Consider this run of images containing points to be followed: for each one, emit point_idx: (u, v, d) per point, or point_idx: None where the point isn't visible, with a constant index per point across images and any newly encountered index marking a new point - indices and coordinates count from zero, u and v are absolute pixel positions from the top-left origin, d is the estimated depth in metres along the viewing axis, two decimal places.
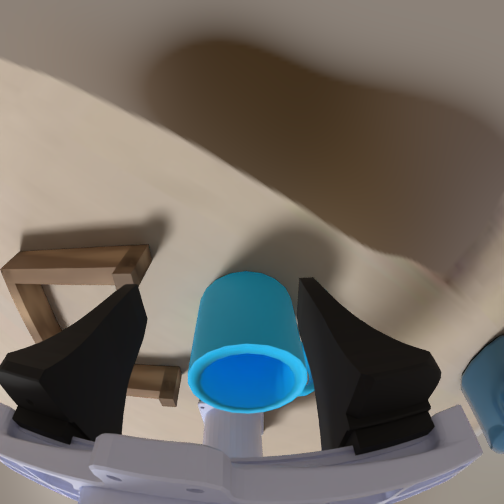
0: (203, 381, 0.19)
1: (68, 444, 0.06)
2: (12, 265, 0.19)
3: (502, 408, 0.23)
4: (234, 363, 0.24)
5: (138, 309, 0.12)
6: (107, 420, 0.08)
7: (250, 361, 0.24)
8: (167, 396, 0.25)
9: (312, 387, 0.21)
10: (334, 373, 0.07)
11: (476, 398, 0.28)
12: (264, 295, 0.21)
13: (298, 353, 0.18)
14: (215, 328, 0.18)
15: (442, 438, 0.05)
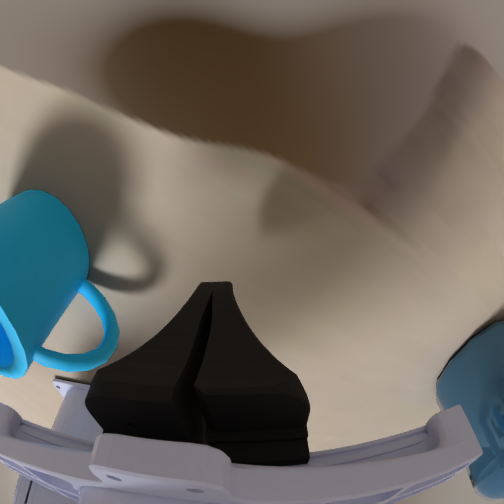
0: None
1: None
2: None
3: (495, 437, 0.13)
4: None
5: None
6: (205, 430, 0.08)
7: None
8: None
9: (72, 359, 0.12)
10: None
11: None
12: (13, 207, 0.11)
13: None
14: None
15: (442, 438, 0.05)
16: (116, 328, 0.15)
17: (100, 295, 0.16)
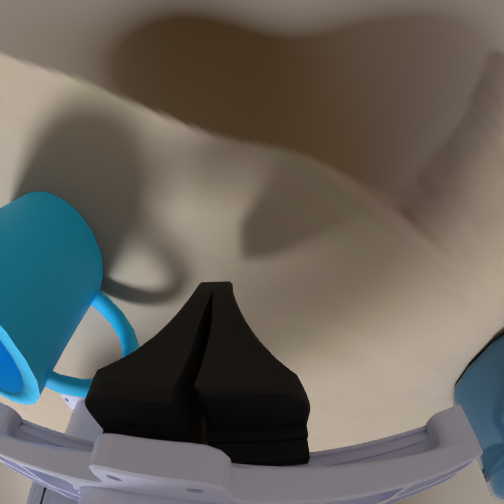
0: None
1: None
2: None
3: None
4: None
5: None
6: (205, 430, 0.08)
7: None
8: None
9: None
10: None
11: (475, 423, 0.17)
12: (16, 212, 0.10)
13: None
14: None
15: (442, 438, 0.05)
16: (137, 346, 0.14)
17: (116, 309, 0.15)
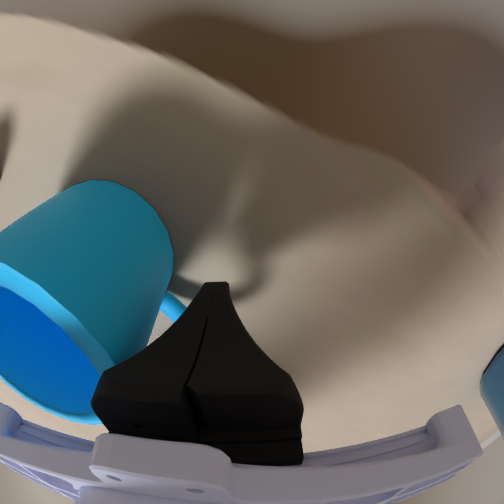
0: None
1: None
2: None
3: None
4: None
5: None
6: None
7: None
8: None
9: None
10: None
11: None
12: (85, 202, 0.10)
13: (81, 302, 0.07)
14: None
15: (442, 438, 0.05)
16: None
17: None
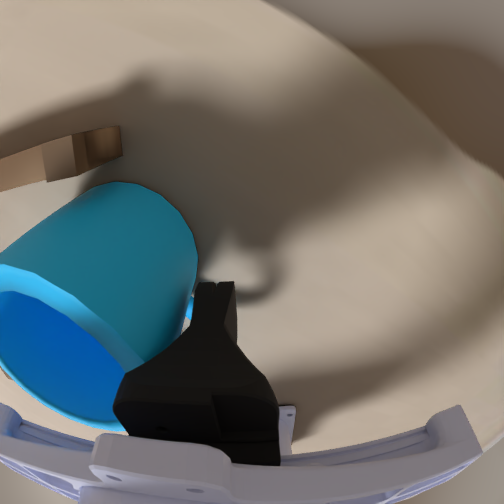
0: (11, 350, 0.08)
1: None
2: None
3: None
4: (97, 340, 0.13)
5: (235, 308, 0.12)
6: None
7: None
8: None
9: None
10: None
11: None
12: (112, 205, 0.10)
13: (118, 313, 0.07)
14: None
15: (442, 438, 0.05)
16: None
17: None
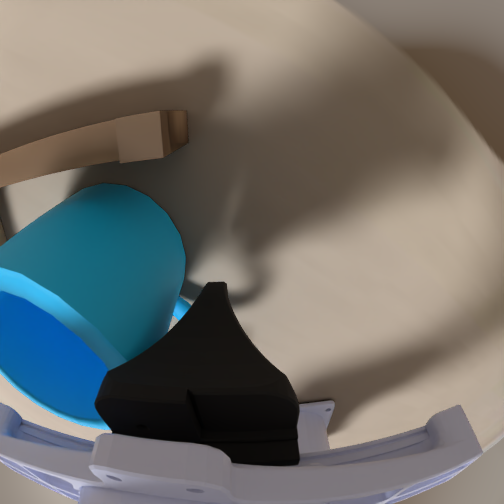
0: (3, 349, 0.08)
1: None
2: None
3: None
4: None
5: None
6: None
7: None
8: None
9: None
10: None
11: None
12: (99, 207, 0.10)
13: (102, 312, 0.07)
14: None
15: (442, 438, 0.05)
16: None
17: None
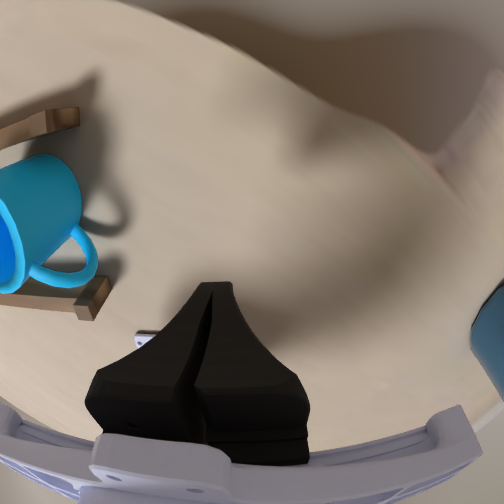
0: None
1: None
2: None
3: None
4: None
5: None
6: (205, 430, 0.08)
7: None
8: (82, 303, 0.20)
9: (59, 274, 0.16)
10: None
11: (492, 354, 0.23)
12: (29, 163, 0.15)
13: (10, 200, 0.12)
14: None
15: (442, 438, 0.05)
16: (96, 260, 0.19)
17: (87, 236, 0.20)
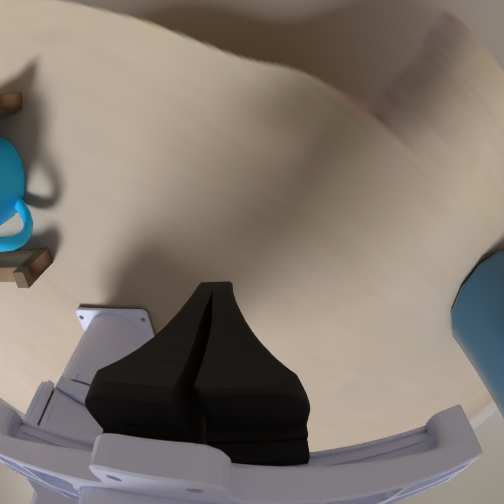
0: None
1: None
2: None
3: None
4: None
5: None
6: (205, 430, 0.08)
7: None
8: (20, 270, 0.18)
9: None
10: None
11: (475, 339, 0.21)
12: None
13: None
14: None
15: (442, 438, 0.05)
16: (29, 228, 0.18)
17: (26, 208, 0.19)
